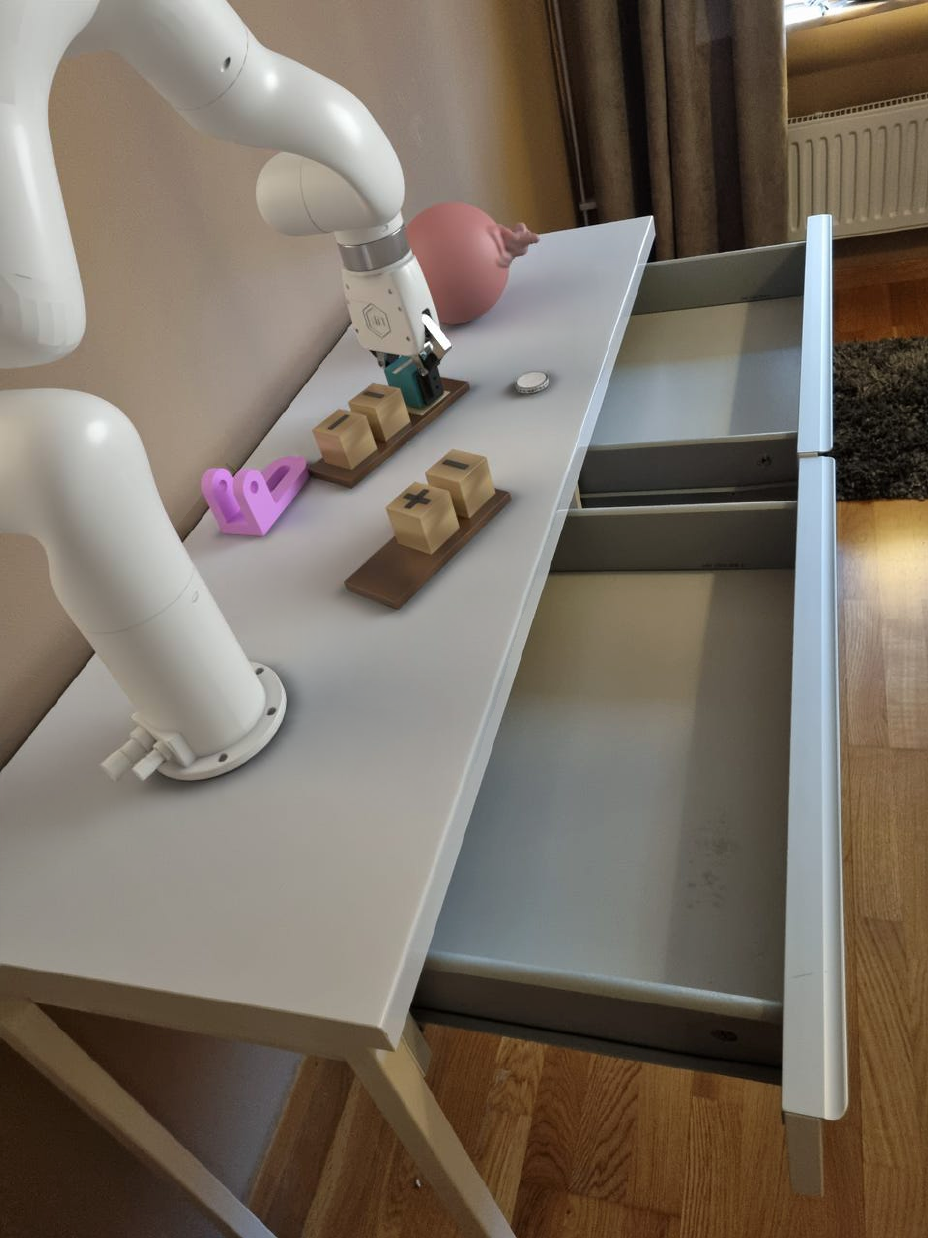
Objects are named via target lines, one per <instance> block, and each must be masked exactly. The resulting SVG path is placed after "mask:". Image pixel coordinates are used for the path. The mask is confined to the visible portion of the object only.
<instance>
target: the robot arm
mask: <svg viewBox="0 0 928 1238" xmlns="http://www.w3.org/2000/svg"><path fill="white" fill-rule="evenodd" d="M109 50H110V51H113V52H115V53H117V54H119V55H120V56H121V57H122V58H123V59H124V60H125V61H126V62H127V63H128V64H129V65H130V66H131V67H132V68H134V70H135V71H136V72H138V73H139V74H140V76H141V77H142V78H144V79H145V81H146V82H147V83H148V84H150V86H152V87H153V88H154V90H155V91H156V92H157V93H158V94H159V95H161V96H162V97H163V99H164V100H165V101H166V102H167V103H168V104H169V105H170V106H171V107H172V108H173V109H174V110H175V111H176V112H177V113H178V114H179V115H180V116H181V117H182V118H183V120H185V121H186V122H187V124H188V125H189V126H190V127H191V128H193V129H195V130H196V131H197V132H199V133H201V134H202V135H205V136H207V137H209V138H213V139H215V140H220V141H223V142H227V143H233V144H235V145H240V146H244V147H249V148H255V149H265V150H270V151H278V152H279V153H277V154H276V155H273V156H272V157H271V158H270V159H269V160H267V162H266V163H265V164H264V165H263V167H262V168H261V170H260V171H259V174H258V176H257V181H256V185H255V200H256V205H257V209H258V211H259V214H260V215H261V218H262V219H263V220H264V222H265V224H266V225H267V226H269V227H270V228H271V229H272V230H273V231H275V232H277V233H279V234H282V235H285V236H289V237H308V236H315V235H323V234H331V233H333V234H334V237H335V240H336V244H337V247H338V250H339V253H340V256H341V259H342V263H343V264H342V265H341V278H342V284H343V285H342V287H343V292H344V297H345V301H346V305H347V309H348V313H349V317H350V320H351V325H352V327H353V331H354V334H355V337H356V340H357V342H358V344H359V345H360V346H361V347H362V348H364V349H365V350H368V351H369V352H370V353H371V354H372V355H373V357H375V359H376V362H377V365H378V366H379V368H380V369H382V370H384V369H385V368H386V367H388V366H389V365H390V364H391V363H393V362H394V361H395V360H397V359H398V358H399V357H401V356H408V357H412V359H413V361H414V364H415V366H416V368H417V370H418V372H419V375H417V376H416V377H417V381H418V385H419V388H420V391H421V395H422V398H423V402H424V404H425V405H428V406H430V405H431V404H432V403H433V402H435V401H436V400H437V399H438V398H440V397H441V396H442V395H443V394H444V389H443V385H442V382H441V378H440V377H441V375H440V374H441V373H440V371H439V368H438V366H440V365H441V361H442V360H443V358H444V357H445V355H446V354H448V353H449V352H450V351H451V349H452V346H453V345H452V343H451V342H450V341H449V340H448V338H447V337H446V336H445V334H444V333H443V332H442V331H441V325H440V322H439V321H438V317H437V313H436V309H435V306H434V303H433V300H432V296H431V293H430V291H429V288H428V285H427V282H426V280H425V277H424V275H423V272H422V270H421V268H420V265H419V263H418V261H417V259H416V257H415V255H413V254H412V251H411V247H410V243H409V240H408V236H407V232H406V225H405V221H404V218H403V215H402V211H401V209H402V207H403V204H404V202H405V193H406V185H405V177H404V171H403V169H402V165H401V162H400V159H399V158H398V155H397V153H396V151H395V149H394V148H393V146H392V143H391V141H390V139H388V137H387V135H386V134H385V133H384V131H383V130H382V128H381V126H380V125H379V124H378V122H377V121H376V119H375V118H374V117H373V115H372V113H371V112H370V111H369V109H368V108H367V107H366V106H365V104H364V103H363V102H362V101H361V100H360V99H359V98H358V97H357V96H355V95H354V94H353V93H352V92H351V91H350V90H348V89H346V88H345V87H344V86H342V85H341V84H339V83H337V82H336V81H334V80H332V79H331V78H328V77H327V76H325V75H323V74H321V73H319V72H317V71H315V70H313V69H311V68H309V67H308V66H306V65H304V64H302V63H300V62H299V61H296V60H294V59H292V58H291V57H287V56H286V55H283V54H281V53H278V52H275V51H273V50H271V49H269V48H268V47H265V46H263V44H261V43H260V42H259V40H258V39H257V38H256V37H255V35H254V34H253V33H252V31H251V30H250V29H249V28H248V26H247V25H246V24H245V22H244V21H243V20H242V18H241V17H240V16H239V15H238V13H237V12H236V11H235V10H234V8H233V7H232V6H231V5H230V3H229V2H228V1H227V0H0V370H7V369H8V370H9V369H19V368H29V367H38V366H41V365H45V364H50V363H54V362H57V361H59V360H61V359H63V358H65V357H67V356H69V355H70V354H71V353H73V351H75V350H76V349H77V347H79V346H80V344H81V342H82V340H83V337H84V334H85V332H86V327H87V314H86V313H87V311H86V301H85V294H84V289H83V288H84V287H83V283H82V279H81V273H80V269H79V264H78V259H77V256H76V252H75V246H74V243H73V242H74V241H73V238H72V234H71V230H70V225H69V221H68V217H67V212H66V208H65V203H64V198H63V194H62V190H61V186H60V185H61V184H60V181H59V178H58V172H57V168H56V167H57V166H56V163H55V157H54V151H53V145H52V139H51V134H50V126H49V100H50V93H51V89H52V85H53V80H54V77H55V74H56V71H57V69H58V66H59V63H60V61H65V60H68V59H73V58H78V57H81V56H85V55H89V54H94V53H98V52H101V51H109ZM423 351H424V353H425V354H426V355H427V357H426V359H425V360H424V359H423V357H422V355H421V352H423ZM0 534H9V535H18V536H19V535H20V536H21V535H22V536H29V537H32V538H34V539H36V540H37V541H38V542H39V543H40V545H42V547H43V548H44V551H45V553H46V556H47V560H48V571H49V572H48V573H49V581H50V584H51V587H52V589H53V590H52V591H53V592H54V594H55V596H56V598H57V600H58V602H59V604H60V605H61V607H62V609H64V611H65V613H66V614H67V616H69V618H70V620H71V621H72V622H73V623H74V625H75V626H76V627H77V629H78V631H80V633H81V634H82V636H83V637H84V638H85V639H86V641H87V642H88V645H90V647H91V648H92V649H93V651H94V653H96V655H97V656H98V658H99V659H100V660H101V662H102V663H103V665H104V666H105V668H106V669H107V670H108V671H109V673H110V674H111V675H112V677H113V679H114V680H115V682H117V684H118V686H119V687H120V688H121V689H122V691H123V692H124V694H125V695H126V697H127V698H128V699H129V700H130V703H132V705H133V706H134V708H135V709H136V710H135V712H134V713H132V714H131V716H130V719H131V720H132V722H133V723H134V724H135V726H136V727H135V728H134V730H132V731H131V732H130V733H129V734H128V737H129V738H130V739H129V740H128V741H127V742H125V743H124V744H123V745H122V746H121V747H120V748H118V749H116V750H115V751H113V753H111V754H110V755H109V756H108V757H107V758H105V760H103V762H101V763H100V764H99V766H100V767H101V769H102V770H103V771H104V772H105V773H106V774H107V775H108V776H109V777H110V778H111V779H112V780H113V781H114V782H119V781H120V780H121V779H122V778H123V777H125V775H126V774H127V773H128V772H130V771H132V773H133V774H134V775H135V776H136V777H137V778H139V780H141V781H143V782H144V781H145V780H146V779H147V778H148V777H149V776H150V775H152V774H153V773H154V772H155V771H156V770H157V771H158V773H160V774H162V775H164V776H166V777H168V778H171V779H175V780H178V781H199V780H206V779H209V778H214V777H217V776H220V775H223V774H225V773H228V772H230V771H232V770H234V769H236V768H238V767H240V766H241V765H243V764H245V763H247V762H248V761H249V760H251V758H253V757H254V756H256V755H257V754H259V752H260V751H261V750H262V749H263V748H264V747H266V746H267V744H268V743H269V742H270V741H271V740H272V738H273V737H274V736H275V734H276V733H277V731H278V730H279V728H280V726H281V724H282V723H283V720H284V717H285V715H286V711H287V701H288V700H287V699H288V698H287V693H286V690H285V687H284V685H283V683H282V681H281V679H280V677H279V676H278V675H277V674H276V672H275V671H274V670H272V668H270V667H268V666H266V665H264V664H262V663H260V662H256V661H250V660H249V659H248V657H247V656H246V654H245V652H244V651H243V649H242V647H241V644H240V643H239V641H238V640H237V638H236V636H235V634H234V632H233V631H232V629H231V628H230V626H229V624H228V622H227V620H226V618H225V617H224V615H223V613H222V611H221V609H220V608H219V606H218V604H217V603H216V601H215V599H214V597H213V595H212V593H211V592H210V589H209V588H208V586H207V584H206V583H205V581H204V579H203V577H202V575H201V574H200V572H199V570H198V568H197V567H196V565H195V563H194V561H193V560H192V558H191V557H190V554H189V552H188V551H187V549H186V548H185V546H184V544H183V542H182V541H181V539H180V538H181V537H179V535H178V532H177V531H176V529H175V527H174V525H173V523H172V521H171V519H170V516H169V514H168V512H167V510H166V509H165V506H164V503H163V501H162V499H161V496H160V494H159V490H158V487H157V484H156V481H155V479H154V475H153V471H152V468H151V465H150V462H149V459H148V455H147V452H146V449H145V445H144V443H143V441H142V439H141V436H140V434H139V432H138V430H137V428H136V427H135V425H134V423H133V422H132V421H131V420H130V418H129V417H128V416H126V414H125V413H124V412H123V411H122V410H120V409H119V408H118V407H117V406H115V405H114V404H112V403H111V402H109V401H107V400H105V399H104V398H102V397H100V396H97V395H94V394H92V393H88V392H85V391H81V390H75V389H67V388H55V387H54V388H53V387H42V388H41V387H39V388H21V389H20V388H19V389H1V390H0ZM144 756H145V757H144Z"/></svg>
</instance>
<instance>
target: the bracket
mask: <svg viewBox="0 0 928 1238" xmlns="http://www.w3.org/2000/svg"><path fill="white" fill-rule="evenodd" d="M308 468H309V464H308V463H307V460H306V459H305V458H304V457H302V456H299V455H289V456H284V457H281V458H278V459H276V460H274V461H272V462H270V463H269V464H267V465H266V466H265V467H264V468H263V469H262V470H261V472H260V471H259V470H257V469H248V468H247V469H246V468H243V469H240V470H238V471H237V472H236V473H235V475H234V476H233V475H232V473H231V472H230V471H229V470H228V469H226V468H216V467H215V468H213V467H212V468H211V467H210V468H209V469H207V470H205V471H204V473H203V475H202V478H201V482H200V489H201V494H202V496H203V497H204V499H205V502H206V504H207V506H208V507H209V510H210V512H211V513H212V515H213V517H214V519H215V521H216V523H217V524H218V527H219V529H220V530H221V533H222V534H228V535H229V534H231V535H243V536H244V535H245V536H256V537H257V536H259V537H260V536H261V537H264V536H266V534H267V532H268V531H269V530H270V529H271V528H272V526H273V525H274V524H275V522H276V521H277V520H278V518H279V517H280V516H281V514H282V513H283V512H284V511H285V510H286V508H287V507H288V506H289V505H290V504H291V502H292V501H293V500H294V498H295V497H296V496H297V495H298V493H299V492H300V491H301V489H302V488H303V487H304V486H305V484H306V483H307V482H308V480H309V479H310V477H311V476H310V474H309V472H308Z"/></svg>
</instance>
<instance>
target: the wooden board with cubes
mask: <svg viewBox="0 0 928 1238" xmlns="http://www.w3.org/2000/svg"><path fill="white" fill-rule="evenodd" d="M424 473H425V477H426V481H427V484H425V483H422V482H419V481H414V482H412V483H411V484H410V485H409V486H408V487H407V488H405V490H404V491H402V492H401V493H400V494H399V495H398V496H396V498H393V500H392V501H391V502H390V503H388V504H387V505H386V506H385V511H386V513H387V516H388V519H389V522H390V525H391V528H392V531H393V533H394V535H393V536H392V537H391V538H390V539H389V540H388V541H387V542H386V543H385V544H384V545H383V546H381V547H380V548H379V549H378V550H377V551H376V552H375V553H374V554H373V555H372V556H371V557H369V558H368V559H367V560H366V561H365V562H364V563H363V564H362V565H360V567H359V568H357V569H356V570H355V571H354V572H352V574H351V575H349V577H347V578H346V579H345V580H344V581H343V585H344V586H345V588H346V590H347V591H350V592H352V593H355V594H357V595H359V596H362V597H365V598H367V599H370V600H372V601H374V602H377V603H380V604H382V605H384V606H387V607H390V608H392V609H395V610H396V611H399V610H400V609H401V608H402V607H403V606H404V605H405V604H406V603H407V602H408V601H409V600H410V599H412V597H414V596H415V595H416V594H417V593H418V591H420V590H421V589H422V588H423V587H424V586H425V585H426V584H427V583H428V582H429V581H430V580H431V579H432V578H433V577H434V576H435V575H436V574H437V573H438V572H439V571H441V569H442V568H444V566H446V564H448V562H450V561H451V560H452V559H453V558H454V556H455V555H457V554H458V553H459V552H460V551H461V550H462V549H463V548H464V547H465V546H466V545H467V544H468V543H469V542H470V541H471V540H472V539H473V538H474V537H475V536H476V535H478V533H479V532H480V531H481V530H482V529H483V528H484V527H486V526H487V524H488V523H489V522H490V521H491V520H493V519H494V518H495V517H496V516H497V515H498V514H499V513H500V512H501V511H502V510H503V509H504V508H505V507H506V506H507V505H508V504H509V503H510V502H511V501H512V496H511V492H510V491H507V490H503V489H498V488H495V486H494V482H493V478H492V473H491V470H490V466H489V461H488V458H487V456H484V455H481V454H480V455H479V454H477V453H476V454H475V453H471V452H467V451H464V450H459V449H455V448H451V450H449V451H448V452H447V453H446V454H444V455H443V457H441V458H440V459H439V460H438V461H437V462H435V463H434V464H433V465H432V466H431V467H430V468H429V469H428V470H426V471H424Z"/></svg>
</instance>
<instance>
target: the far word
mask: <svg viewBox="0 0 928 1238" xmlns="http://www.w3.org/2000/svg"><path fill="white" fill-rule="evenodd" d="M440 378H441V382H442V385H443V389H444V394H443V395H442V396H441V397H440V398H438V399H437V400H436V401H435V402H433V403H432V404H431V405H430V406H428V405H424V406H422V407H421V408H418V407H413V406H408V405H405V402H404V399H403V396H402V392H401V389H400V388H397V387H392V386H388V384H387V385H386V384H381V383H376V382H372V383H370V384H369V385H368V386H367V387H366V388H364V389H362V391H360V392H359V393H357V395H355V396H354V397H353V398H351V399H350V400H348V401H347V404H348V407H349V410H350V411H349V410H345V409H340V408H338V409H337V410H336V411H334V412H333V413H331V414H330V415H329V416H327V418H325V419H323V420H322V421H321V422H320V423H318V424H317V425H316V426H314V427H313V428H312V429H311V431H312V434H313V436H314V438H315V442H316V443H317V447H318V449H319V452H320V454H321V456H322V457H321V458H319V459H318V460H317V461H316V462H315V463H313V464H312V465H310V467H309V466H308V467H309V468H308V472H309V474H310V477H313V478H316V479H319V480H323V481H325V482H329V483H332V484H335V485H339V486H342V487H345V488H349V489H353V488H354V487H355V486H356V485H357V484H359V483H360V482H361V481H362V480H363V479H365V478H366V477H367V476H368V475H370V473H372V472H373V471H374V470H375V469H377V468H378V467H379V466H380V465H381V464H383V463H384V462H385V461H387V459H388V458H390V457H391V456H392V455H393V454H395V453H396V452H397V451H398V450H399V449H400V448H402V447H403V446H404V445H406V443H408V442H409V441H410V440H411V439H412V438H413V437H415V436H417V434H418V433H420V432H421V431H422V430H423V429H424V428H425V427H427V426H428V425H429V424H430V423H431V422H433V421H434V420H435V419H436V418H437V417H439V416H440V415H441V414H442V413H443V412H444V411H446V410H447V409H448V408H449V407H451V406H452V405H453V404H454V403H455V402H457V401H458V400H459V399H460V398H461V397H462V396H464V395H465V394H466V393H468V391H470V390H471V387H470V383H469V381H467V380H466V381H465V380H459V379H454V378H449V377H443V376H440Z"/></svg>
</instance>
